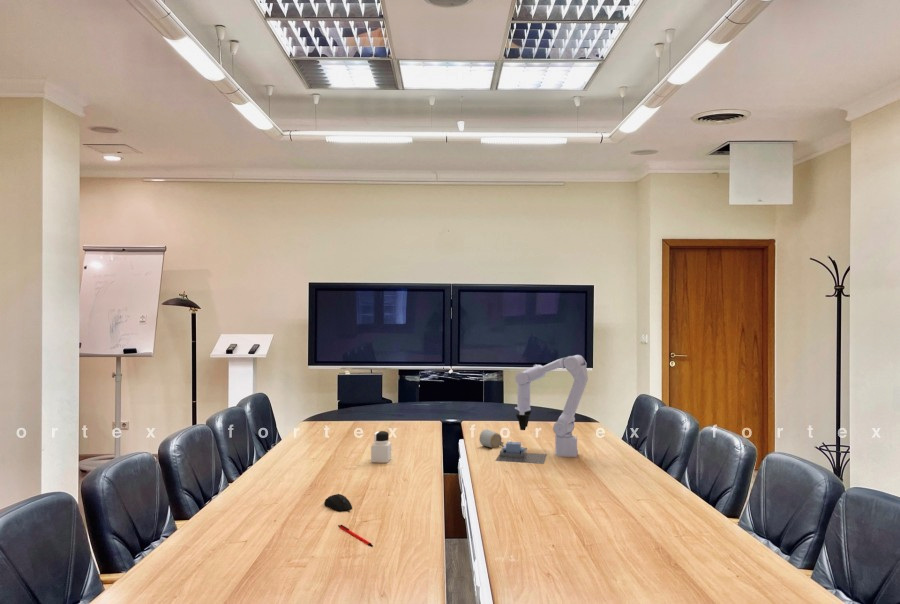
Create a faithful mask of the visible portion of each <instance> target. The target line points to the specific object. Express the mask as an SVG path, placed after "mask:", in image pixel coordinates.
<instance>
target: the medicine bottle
mask: <svg viewBox="0 0 900 604" xmlns="http://www.w3.org/2000/svg"><path fill="white" fill-rule="evenodd" d="M389 438H390V437H389V432H388V431H385V430H378V431H376V432H374V433H373V443H372V444H371V445H370V449H371V450H370V462H371V463H381V464H382V463H383V464H386V463H389V462H390V460H391V459H392V441H389Z"/></svg>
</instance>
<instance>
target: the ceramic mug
mask: <svg viewBox="0 0 900 604" xmlns="http://www.w3.org/2000/svg"><path fill="white" fill-rule="evenodd" d="M478 440H479V443H480V445H482V446H484V447H487V448H491V449H493V448H499V447H500V446H502V447H504V441H503V440H502V436H501V435H500V433H498V432H496V431H493V430H490V429H488V428H484V429H483V430H482V431H481V432H480V434H479V439H478Z"/></svg>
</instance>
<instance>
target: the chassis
mask: <svg viewBox="0 0 900 604" xmlns="http://www.w3.org/2000/svg"><path fill="white" fill-rule="evenodd" d="M503 447H504V446H502V447H501V449H500V450H499V455H498V456H497V457H496V459H495V461H496V462H506V463H507V462H508V463H524V464H535V465H536V464H539V465H544V464H545V462H546V459H547V456H548V454H547V453H533V452H528V448H527V447H524V451H521V454H520V453H506V450H503Z"/></svg>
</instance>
